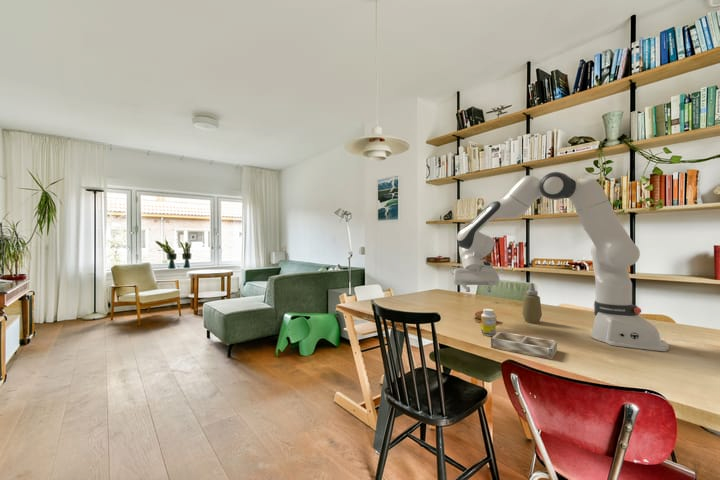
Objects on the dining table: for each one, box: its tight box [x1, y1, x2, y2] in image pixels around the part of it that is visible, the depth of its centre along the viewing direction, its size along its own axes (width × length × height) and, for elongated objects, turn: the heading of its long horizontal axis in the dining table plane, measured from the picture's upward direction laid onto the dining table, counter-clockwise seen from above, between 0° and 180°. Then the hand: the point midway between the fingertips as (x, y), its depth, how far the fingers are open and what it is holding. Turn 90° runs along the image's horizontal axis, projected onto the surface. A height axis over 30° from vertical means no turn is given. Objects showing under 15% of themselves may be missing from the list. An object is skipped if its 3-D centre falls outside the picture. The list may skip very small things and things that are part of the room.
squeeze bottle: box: [522, 282, 543, 324], centre depth 151 cm, size 8×8×18 cm
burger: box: [474, 310, 498, 324], centre depth 152 cm, size 10×9×5 cm
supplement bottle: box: [480, 308, 497, 337], centre depth 132 cm, size 6×6×10 cm
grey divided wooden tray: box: [490, 331, 558, 360], centre depth 115 cm, size 19×10×3 cm, turn 51°
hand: (479, 291), depth 144 cm, fingers open, 8 cm apart
